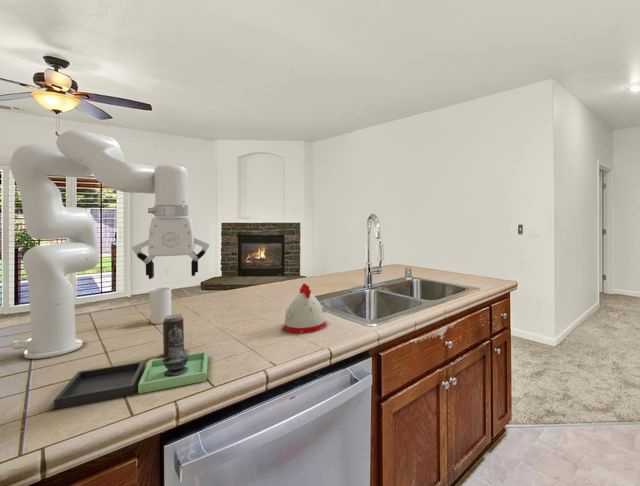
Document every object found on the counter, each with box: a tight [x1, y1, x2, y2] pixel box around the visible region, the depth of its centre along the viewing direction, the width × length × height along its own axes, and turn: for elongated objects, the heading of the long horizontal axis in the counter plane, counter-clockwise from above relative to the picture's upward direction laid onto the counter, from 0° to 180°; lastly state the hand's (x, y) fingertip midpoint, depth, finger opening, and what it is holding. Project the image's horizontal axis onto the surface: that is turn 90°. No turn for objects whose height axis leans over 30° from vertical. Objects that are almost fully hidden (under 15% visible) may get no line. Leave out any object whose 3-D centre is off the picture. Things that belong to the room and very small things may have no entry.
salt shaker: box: [162, 325, 190, 377], centre depth 92 cm, size 6×6×12 cm
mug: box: [148, 286, 172, 325], centre depth 136 cm, size 10×7×12 cm, turn 38°
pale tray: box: [137, 350, 209, 394], centre depth 92 cm, size 14×15×2 cm
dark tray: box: [53, 360, 146, 410], centre depth 86 cm, size 14×15×2 cm
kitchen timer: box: [284, 283, 326, 334], centre depth 129 cm, size 14×14×15 cm
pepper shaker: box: [162, 313, 185, 358], centre depth 105 cm, size 5×5×11 cm
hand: (172, 276), depth 97 cm, fingers open, 9 cm apart
